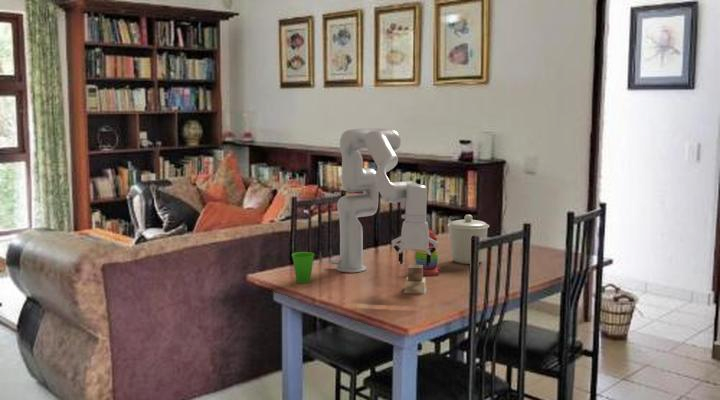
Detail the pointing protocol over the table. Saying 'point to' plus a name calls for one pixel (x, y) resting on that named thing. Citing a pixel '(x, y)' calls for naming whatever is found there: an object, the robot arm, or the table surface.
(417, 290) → the oak base block
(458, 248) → the canister
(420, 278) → the walnut cube
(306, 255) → the cup
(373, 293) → the table surface
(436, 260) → the stacking bear
